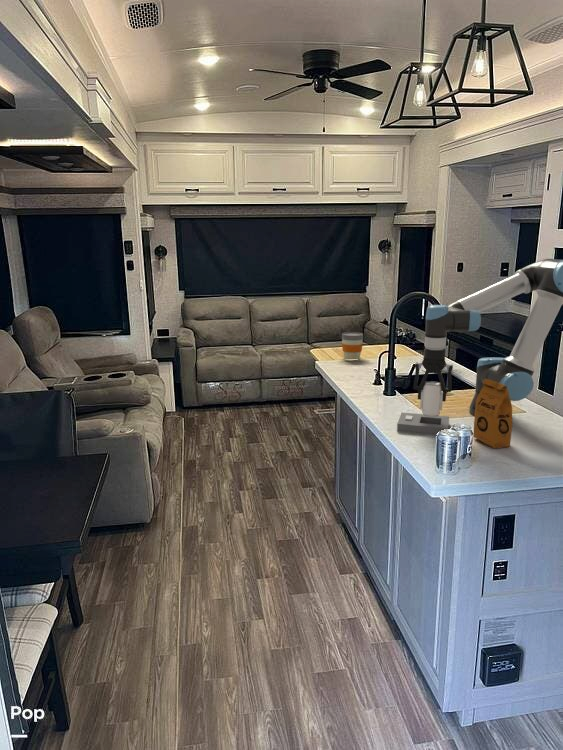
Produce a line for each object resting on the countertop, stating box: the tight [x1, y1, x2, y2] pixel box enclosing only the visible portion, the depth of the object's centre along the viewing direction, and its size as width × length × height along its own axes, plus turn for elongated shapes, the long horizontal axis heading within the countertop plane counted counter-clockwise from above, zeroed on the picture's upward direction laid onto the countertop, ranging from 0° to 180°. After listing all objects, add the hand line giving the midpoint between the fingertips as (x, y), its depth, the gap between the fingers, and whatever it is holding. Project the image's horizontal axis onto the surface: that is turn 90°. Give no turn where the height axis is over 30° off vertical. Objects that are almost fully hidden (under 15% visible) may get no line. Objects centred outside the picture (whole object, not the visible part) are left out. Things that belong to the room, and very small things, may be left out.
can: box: [421, 380, 442, 416], centre depth 207 cm, size 6×6×12 cm
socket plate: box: [396, 412, 450, 436], centre depth 210 cm, size 18×14×4 cm
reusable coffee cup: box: [341, 331, 364, 360], centre depth 324 cm, size 13×13×15 cm
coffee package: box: [472, 379, 513, 449], centre depth 192 cm, size 10×12×22 cm
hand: (431, 408), depth 208 cm, fingers closed on can, 6 cm apart
